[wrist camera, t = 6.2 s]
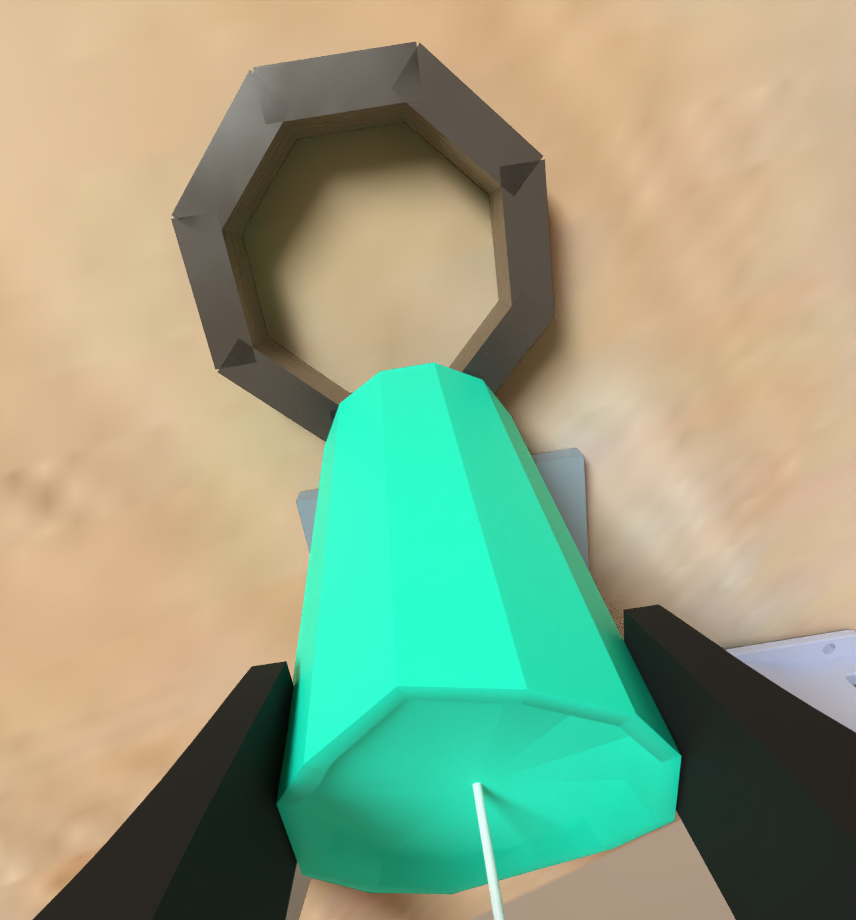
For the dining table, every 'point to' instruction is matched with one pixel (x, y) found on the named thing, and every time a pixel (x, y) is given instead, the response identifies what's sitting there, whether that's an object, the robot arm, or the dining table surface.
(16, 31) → the dining table surface
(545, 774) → the candle
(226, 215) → the collar
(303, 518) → the mat
